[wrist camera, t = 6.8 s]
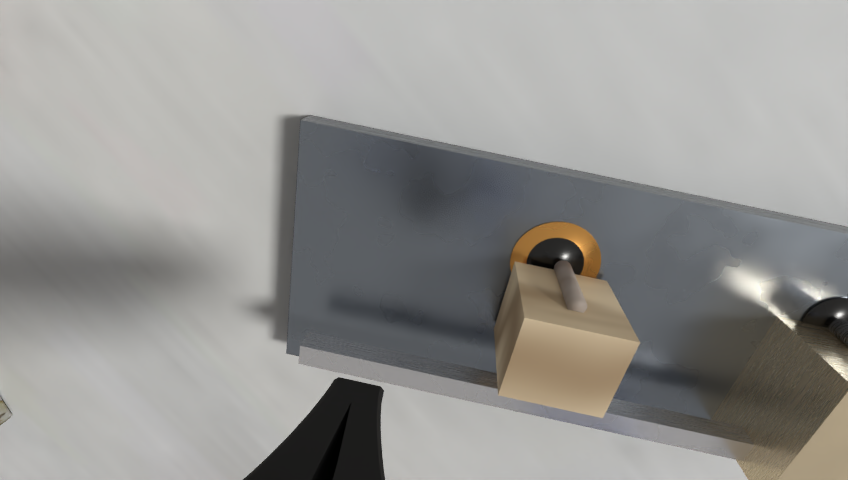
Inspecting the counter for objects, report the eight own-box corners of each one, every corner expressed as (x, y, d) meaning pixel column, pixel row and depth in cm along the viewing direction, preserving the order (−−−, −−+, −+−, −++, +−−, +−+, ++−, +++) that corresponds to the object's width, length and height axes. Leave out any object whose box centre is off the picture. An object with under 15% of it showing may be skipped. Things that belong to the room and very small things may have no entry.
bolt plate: (792, 447, 23) (809, 469, 22) (295, 339, 24) (285, 354, 23) (948, 248, 18) (981, 262, 17) (310, 115, 19) (299, 120, 18)
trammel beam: (800, 438, 22) (869, 524, 18) (317, 333, 22) (284, 395, 18) (888, 325, 19) (994, 399, 15) (329, 207, 19) (293, 249, 15)
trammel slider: (579, 347, 20) (602, 418, 17) (493, 328, 20) (498, 395, 17) (611, 269, 19) (646, 329, 15) (518, 249, 19) (529, 304, 15)
